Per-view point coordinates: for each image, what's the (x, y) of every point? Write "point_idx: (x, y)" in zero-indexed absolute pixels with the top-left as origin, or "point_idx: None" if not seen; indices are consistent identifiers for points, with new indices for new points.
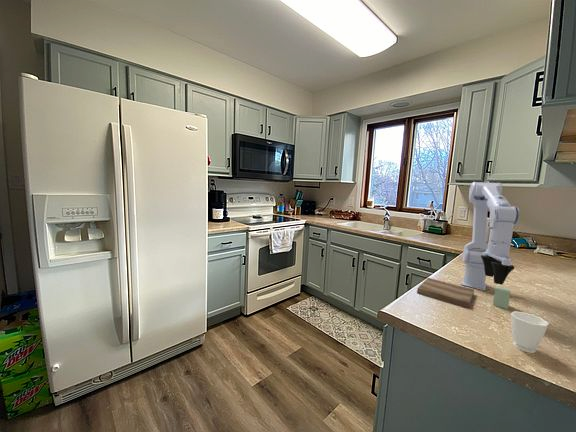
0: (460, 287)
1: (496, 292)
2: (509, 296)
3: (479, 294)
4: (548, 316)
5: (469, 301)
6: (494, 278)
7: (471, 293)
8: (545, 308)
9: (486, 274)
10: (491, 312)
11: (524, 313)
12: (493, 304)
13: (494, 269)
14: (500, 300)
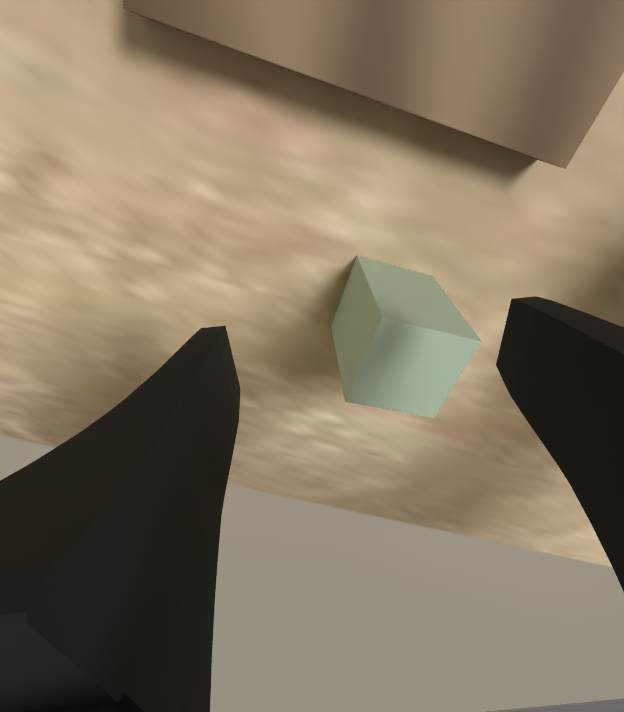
0: (601, 15)
1: (372, 314)
2: (341, 378)
3: (553, 213)
4: (342, 460)
5: (167, 23)
6: (174, 354)
7: (438, 111)
8: (443, 475)
9: (520, 311)
10: (197, 211)
11: None
12: (356, 261)
13: (63, 461)
14: (351, 313)
